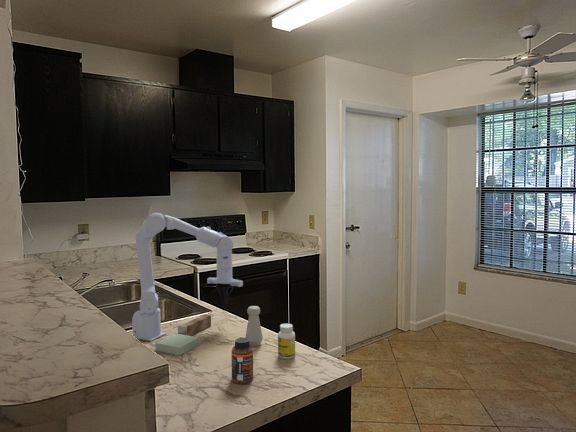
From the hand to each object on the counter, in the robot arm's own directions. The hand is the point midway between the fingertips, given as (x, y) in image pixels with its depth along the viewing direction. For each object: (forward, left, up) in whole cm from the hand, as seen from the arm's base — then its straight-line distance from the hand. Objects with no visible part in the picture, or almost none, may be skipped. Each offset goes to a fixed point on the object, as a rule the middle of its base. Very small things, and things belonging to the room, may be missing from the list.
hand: (225, 303), depth 162 cm
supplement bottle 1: (+28, -34, -10) cm, 45 cm away
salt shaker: (+18, -10, -10) cm, 23 cm away
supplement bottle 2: (+32, -14, -10) cm, 36 cm away
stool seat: (-4, -23, -9) cm, 25 cm away
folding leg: (-8, -8, -9) cm, 15 cm away
